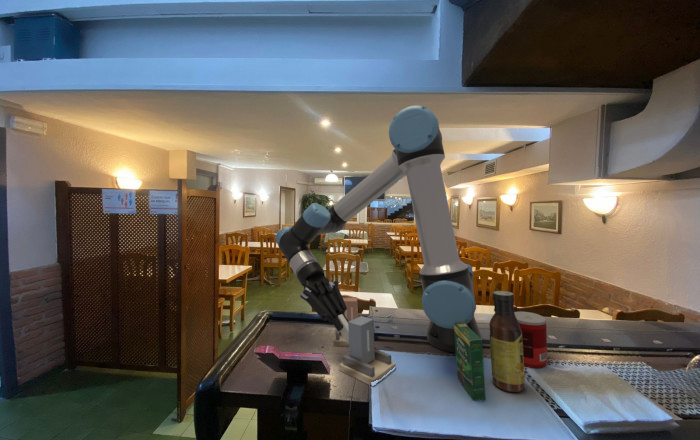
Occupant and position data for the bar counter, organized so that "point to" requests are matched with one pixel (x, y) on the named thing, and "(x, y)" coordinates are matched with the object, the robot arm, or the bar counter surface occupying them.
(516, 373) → the sauce bottle
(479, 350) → the coffee box
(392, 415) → the bar counter surface
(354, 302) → the pinkish brown tall block
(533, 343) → the canned food
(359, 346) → the slate key
